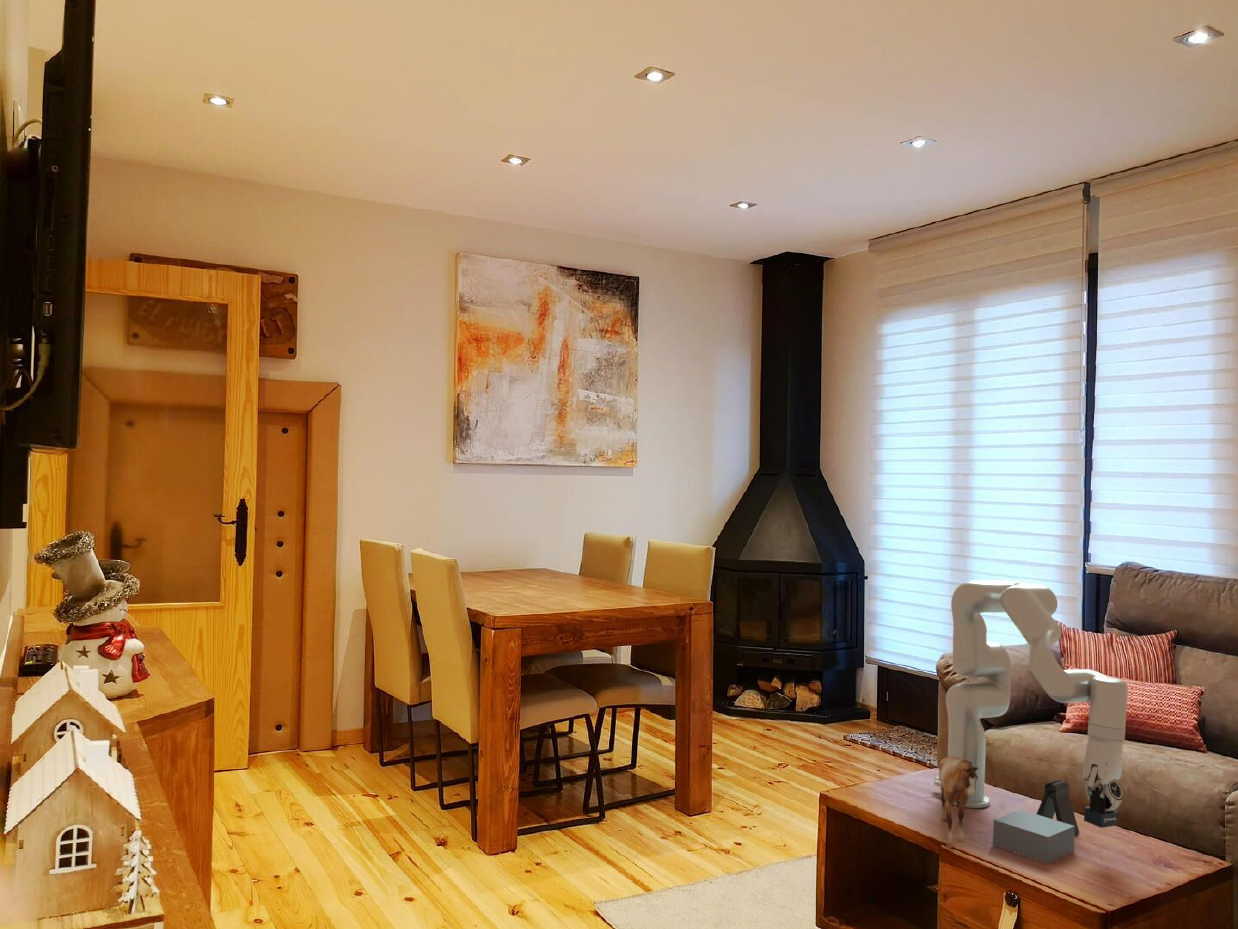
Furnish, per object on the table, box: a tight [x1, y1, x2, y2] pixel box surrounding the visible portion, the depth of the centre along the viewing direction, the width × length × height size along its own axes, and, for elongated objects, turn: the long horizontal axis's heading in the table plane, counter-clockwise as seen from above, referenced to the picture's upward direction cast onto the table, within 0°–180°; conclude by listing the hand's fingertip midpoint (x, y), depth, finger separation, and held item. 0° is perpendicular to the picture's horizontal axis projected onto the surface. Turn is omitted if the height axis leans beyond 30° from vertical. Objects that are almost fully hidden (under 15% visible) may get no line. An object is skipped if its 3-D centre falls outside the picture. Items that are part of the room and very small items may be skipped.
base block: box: [992, 809, 1075, 865], centre depth 221 cm, size 13×13×6 cm
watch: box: [1083, 780, 1124, 829], centre depth 216 cm, size 6×8×11 cm
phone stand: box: [1036, 779, 1080, 836], centre depth 234 cm, size 9×6×12 cm, turn 36°
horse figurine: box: [938, 756, 978, 849], centre depth 229 cm, size 31×8×21 cm, turn 162°
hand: (1101, 811), depth 216 cm, fingers closed on watch, 3 cm apart
